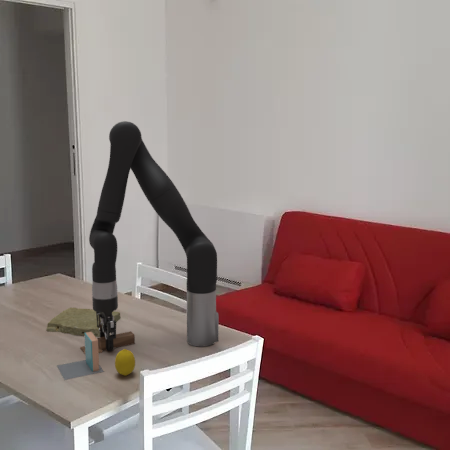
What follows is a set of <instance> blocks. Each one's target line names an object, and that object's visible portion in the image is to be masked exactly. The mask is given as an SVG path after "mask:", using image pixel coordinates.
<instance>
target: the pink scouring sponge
mask: <svg viewBox="0 0 450 450" xmlns="http://www.w3.org/2000/svg"><path fill="white" fill-rule="evenodd" d="M84 334H85V336H84V346H85V354H84V355H85V360H86V363H87V365H88V366H89V368H90V369H91V371H92V372H93V371H98V370H99V365H100V360H99V359H100V358H99V356H100V355H99V354H100V353H98V340H97V338H98V337H95V336H94V334H93V333H92V332H87V333H84Z"/></svg>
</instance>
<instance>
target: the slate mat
mask: <svg viewBox="0 0 450 450" xmlns="http://www.w3.org/2000/svg"><path fill="white" fill-rule="evenodd" d="M56 367H57V368H58V369H57V370H58V371H59V372H60V374H61V377H62V378H63V380H64V381H67V380H72V379H76V378H81V377H85V376H90V375H95V374H99V373H104V372H105V371H104V369H103V368H102V366H101V365H100V364H99V370H98V371H93V372H92V371H91V369H90V368H89V366H88V365H87V363H86V359H84V360H78V361H74V362H68V363H63V364H58V365H56Z"/></svg>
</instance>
